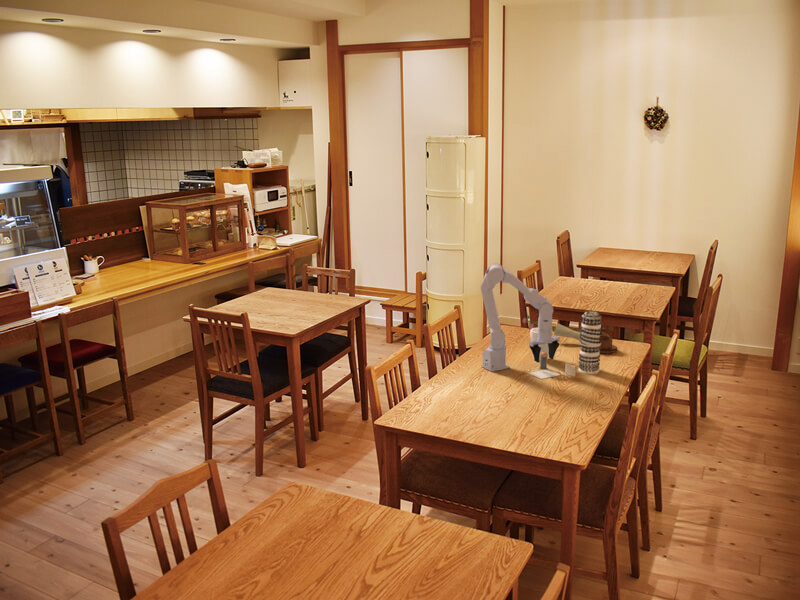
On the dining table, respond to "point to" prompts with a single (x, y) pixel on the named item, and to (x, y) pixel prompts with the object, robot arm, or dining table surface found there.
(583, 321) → the decorative candle
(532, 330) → the foam cup
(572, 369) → the rectangular block
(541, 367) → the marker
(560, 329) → the flower vase
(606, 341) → the cup and saucer
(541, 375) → the paper
